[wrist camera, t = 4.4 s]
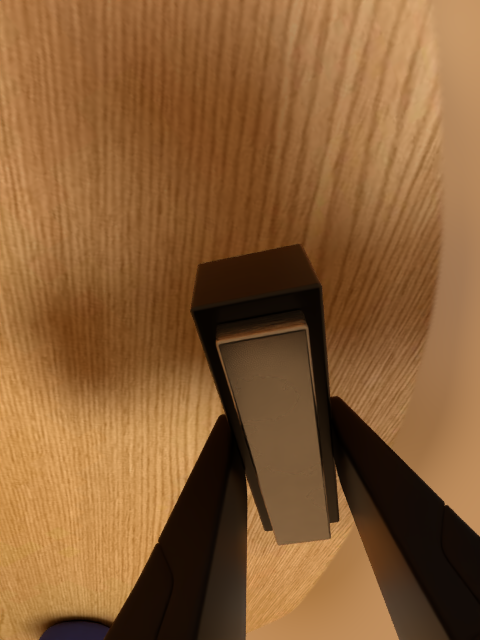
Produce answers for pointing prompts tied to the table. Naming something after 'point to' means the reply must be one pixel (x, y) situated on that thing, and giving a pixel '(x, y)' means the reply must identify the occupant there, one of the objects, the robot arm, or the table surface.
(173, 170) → the table surface
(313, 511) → the black and silver bar
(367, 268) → the table surface
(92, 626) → the mug
